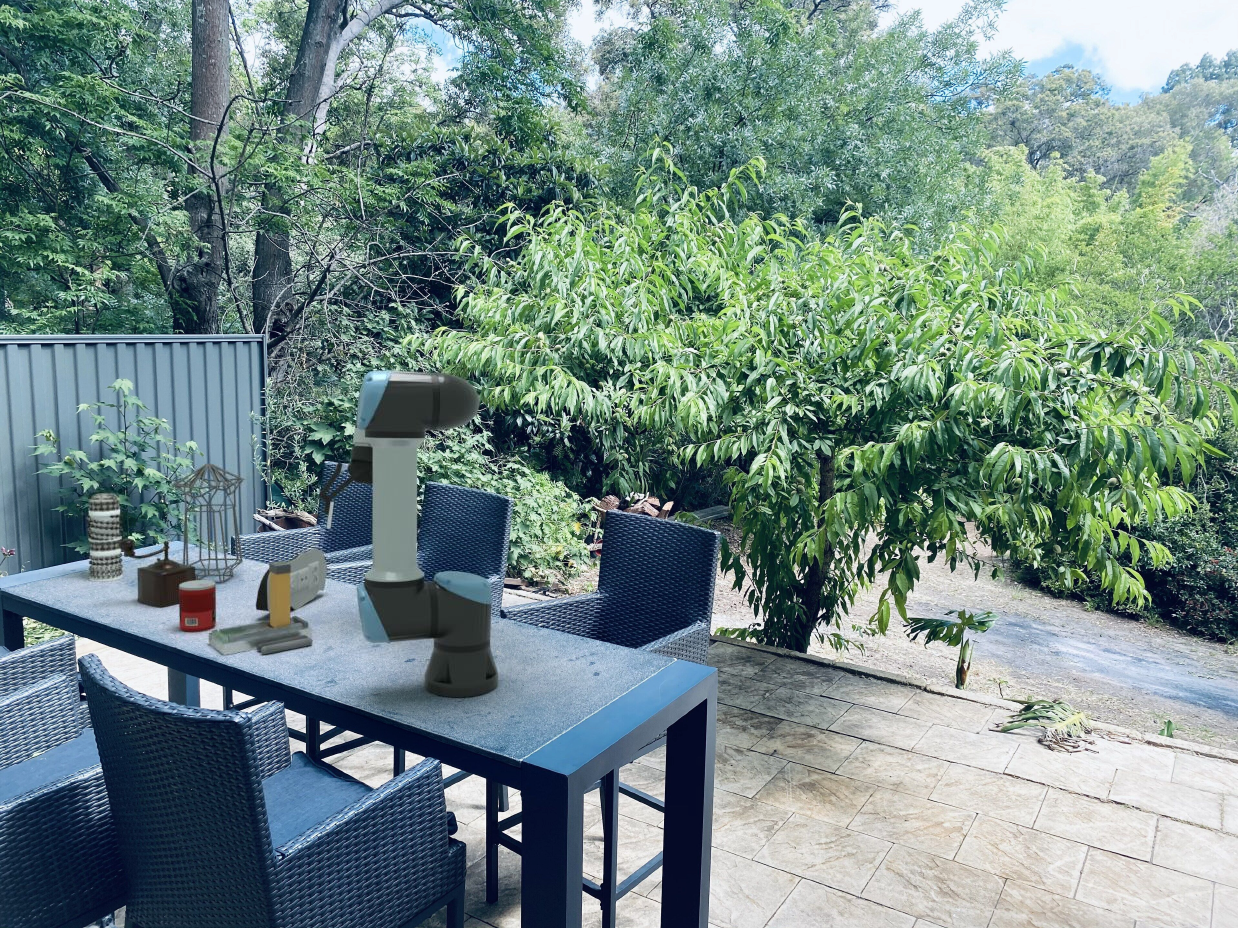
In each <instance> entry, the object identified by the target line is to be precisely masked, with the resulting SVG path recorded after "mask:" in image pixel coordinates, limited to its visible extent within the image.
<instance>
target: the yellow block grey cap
mask: <svg viewBox="0 0 1238 928" xmlns="http://www.w3.org/2000/svg"><path fill="white" fill-rule="evenodd" d="M268 565H269V566H268V569H269V571H270V612H269V620H270V625H271V626H272V627H280V626H285V625H290V617H291V608H290V573H291V564H289V563H287V561H284V560H280V561H274V562H269V563H268Z"/></svg>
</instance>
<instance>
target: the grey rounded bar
mask: <svg viewBox="0 0 1238 928" xmlns="http://www.w3.org/2000/svg"><path fill="white" fill-rule="evenodd" d="M313 642H314V641H313V638H308V636H306V635H302V636H297V637H291V638H286V639H281V640H276V641H271V642H265V643H260V644H258V645H257V649H256V650H257V651H258V652H261V654H262V655H268V654H273V653H278V652H283V651H288V650H292V649H298V648H303V647H308V646H312V644H313Z"/></svg>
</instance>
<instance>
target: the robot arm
mask: <svg viewBox="0 0 1238 928" xmlns="http://www.w3.org/2000/svg"><path fill="white" fill-rule="evenodd" d="M479 407H480V399H479V394H478V392H477V390H476V388H475V387H474V386H473V385H472V384H471V383H470V382H469V381H467V380H465V379H464V378H461V377H459V376H456V375H453V374H449V373H445V372H425V371H424V372H422V371H404V370H390V369H388V370H371V371H369V372H367V373H366V374H365V375H364V377H363V380H362V384H361V387H360V389H359V395H358V397H357V409H356V416H355V425H354V432H353V437H352V438H353V439H352V444H353V445H354V446H352V448H351V453H350V462H349V464H344V463H342V462H337V464H336V465H335V470H334V472H333V474H332V475H331V476H330V478H329V479H328V481H326V483H325V485H324V486H323V488H322V489H321V491H320V492H319V494H318V495H317V496H318V498H319V499H321V500H323V501H324V509H323V514H324V515H326V516H327V523H326V529H328V530H330V529H331V527H332V526H331V525H332V521H333V520H332V519H333V511H334V504H335V503H334V501H332V500H333V499H334V498H336V496H337V495H338V494H340V493H341V492H343V491H344V489H345V488H346V487H348V486H349V485H350V484H351V483H353V482H354V483H356V484H359V485H360V484H364V485H368V486H369V485H372V567H371V569H369V570H368V571H367V572H366V573H365V574H364V583H361V584H359V585H357V587H356V598H357V606H358V611H359V612H358V613H359V618H360V619H359V620H360V624H361V629H362V633H363V636H364V639H365V640H366V642H368V643H372V644H379V643H387V644H391V643H399V642H407V641H408V642H409V641H420V640H433V649H432V653H431V656H430V659H429V661H428V663H427V667H426V669H425V672H424V678H423V679H424V688H425V689H426V690H427V691H428V692H430V693H432V694H434V695H438V696H442V697H450V698H468V697H473V696H480V695H483V694H486V693H489V692H491V691H493V690H494V689H495V688H496V687H497V686H498V684H499V672H498V668H497V666H496V661H495V659H494V656H493V652H492V648H491V636H492V635H491V633H492V631H491V629H492V604H493V599H492V597H493V596H492V585H491V583H490V581H489V580H488V579H486V578H485V577H483V576H481V575H477V574H474V573H470V572H463V571H456V570H455V571H454V570H453V571H451V570H450V571H449V570H448V571H439V572H437V573H435V575H434V577H433V580H432V581H431V580H430V581H426V580H425V572H423V571H422V569H420V568H419V566H418V565H417V563H418V562H417V561H418V560H417V559H418V557H417V555H418V552H417V551H418V548H417V547H418V545H417V544H418V541H417V540H418V539H417V538H418V537H417V534H418V530H417V529H418V448H419V446H421V445H422V443H423V442H424V441H425V440H426V431H445V430H451V429H456V428H458V427H459V428H460V427H461V426H464V425H466V424H468V423H470V422H471V421H472V420H473V419H474V418H475V417H476V415H477V413H478V412H479ZM345 470H347V472H348V474H349V475H350V476H349V477H348V478H347V479H346V480H344V481H343V483H341V484H340V485H338V486H337V488H336V489H334V490H333V491H332V492H331V493H330V494H328V495H327V494H326V493H328V491H329V489H330V488H331V487H332V485H333V484H334V482H335V481H337V478H338V477H339V476H340V473H344V472H345Z"/></svg>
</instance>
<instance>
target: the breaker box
mask: <svg viewBox="0 0 1238 928" xmlns="http://www.w3.org/2000/svg"><path fill="white" fill-rule="evenodd" d="M312 632H313V630H312V627H311V626H309V622H308V621H306V620H304V619H302V618H301V617H299V616H298V615H294V616H293V615H292V616H290V625H285V626H280V627H272V626H271V625H270V619H269V620H265V621H257V622H253V623H246V624H241V625H236V626H229V627H224V628H219V629H218V630H217V629H213V630H211V632H209V633H208V644H209V645H210V646H211V647H212V648H214V649H215V650H216V651H218V652H219V653H221V654H222V656H228V655H227V654H229V655H233V654H237V653H238V652H239V653H244V652H248V650H249V651H252V650H253V651H254V650H257V645H258V644H260V643H265V642H271V641H276V640H281V639H286V638H291V637H297V636H302V635H306V636H308V638H311V639H313V638H312V637H313V635H312V634H313V633H312ZM243 651H244V652H243ZM239 653H238V654H239Z"/></svg>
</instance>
